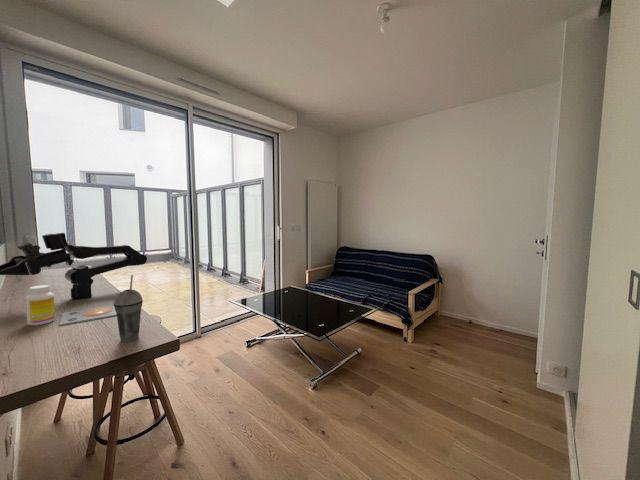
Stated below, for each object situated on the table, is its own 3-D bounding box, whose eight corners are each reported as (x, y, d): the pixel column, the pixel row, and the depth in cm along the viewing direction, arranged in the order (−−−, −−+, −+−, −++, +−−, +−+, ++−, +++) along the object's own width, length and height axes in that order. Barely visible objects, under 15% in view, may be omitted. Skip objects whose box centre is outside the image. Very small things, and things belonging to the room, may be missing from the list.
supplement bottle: (59, 320, 92) (57, 285, 91) (34, 327, 85) (32, 290, 85) (48, 317, 94) (46, 283, 93) (22, 324, 88) (20, 287, 87)
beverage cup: (109, 341, 77) (107, 276, 76) (134, 332, 84) (132, 272, 83) (124, 346, 74) (122, 279, 73) (149, 336, 81) (147, 274, 80)
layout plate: (116, 305, 108) (116, 304, 108) (118, 315, 98) (118, 313, 98) (63, 314, 97) (63, 312, 97) (59, 326, 87) (59, 324, 87)
